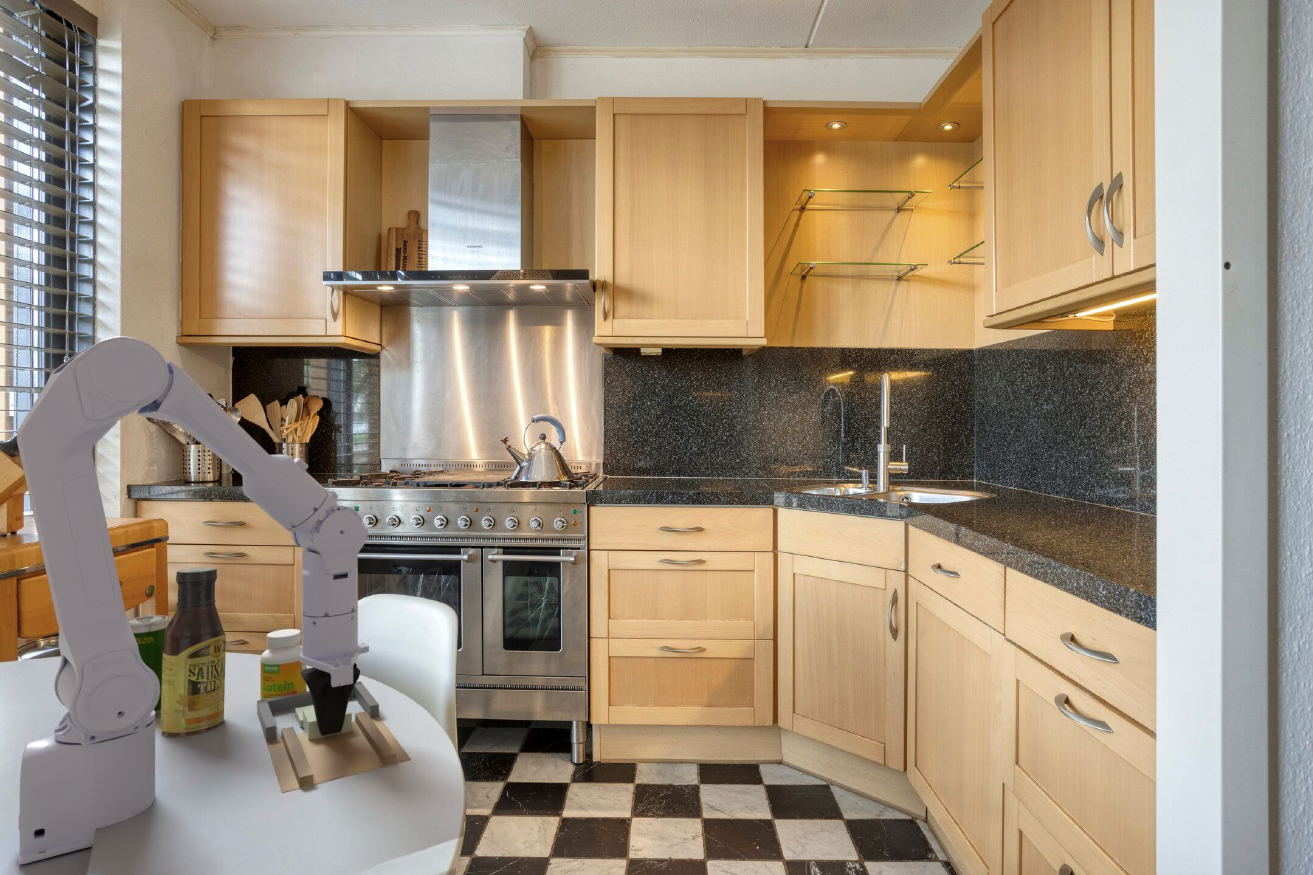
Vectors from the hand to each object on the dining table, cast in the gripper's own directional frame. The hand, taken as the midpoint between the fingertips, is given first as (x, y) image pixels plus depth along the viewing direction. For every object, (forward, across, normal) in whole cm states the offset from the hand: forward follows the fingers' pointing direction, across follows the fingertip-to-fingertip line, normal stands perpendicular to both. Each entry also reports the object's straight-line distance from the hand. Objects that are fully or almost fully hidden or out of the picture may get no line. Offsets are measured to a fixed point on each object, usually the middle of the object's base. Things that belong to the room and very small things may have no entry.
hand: (330, 732), depth 78 cm
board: (+2, -4, 0) cm, 4 cm away
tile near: (+1, +3, 0) cm, 3 cm away
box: (+2, +8, 0) cm, 9 cm away
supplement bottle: (+2, +18, +3) cm, 19 cm away
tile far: (+2, +8, 0) cm, 8 cm away
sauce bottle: (+2, +14, +13) cm, 19 cm away
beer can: (+2, +26, +18) cm, 32 cm away
